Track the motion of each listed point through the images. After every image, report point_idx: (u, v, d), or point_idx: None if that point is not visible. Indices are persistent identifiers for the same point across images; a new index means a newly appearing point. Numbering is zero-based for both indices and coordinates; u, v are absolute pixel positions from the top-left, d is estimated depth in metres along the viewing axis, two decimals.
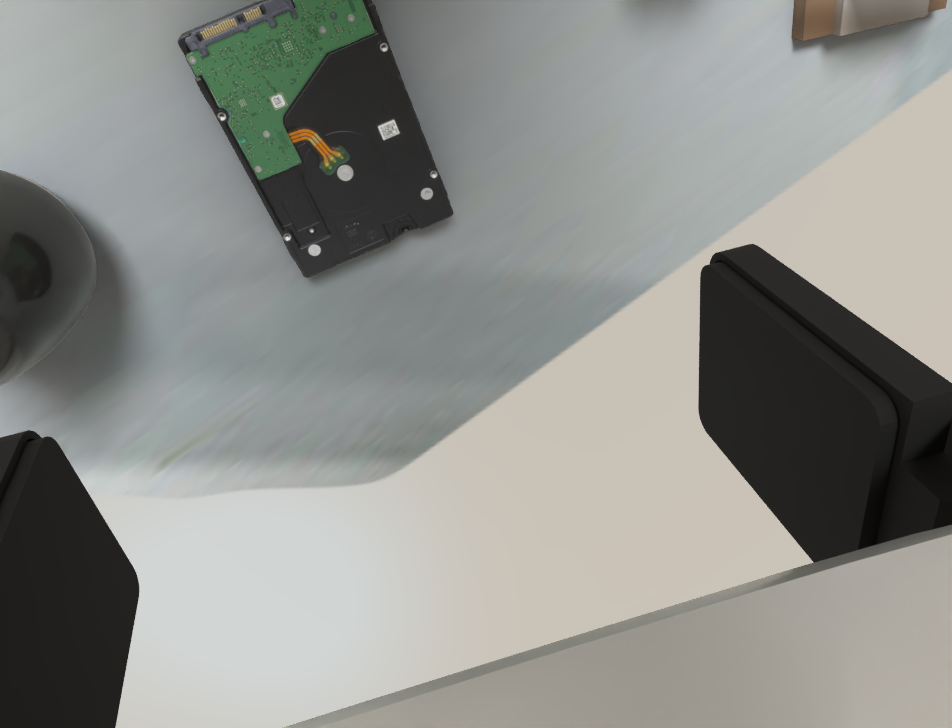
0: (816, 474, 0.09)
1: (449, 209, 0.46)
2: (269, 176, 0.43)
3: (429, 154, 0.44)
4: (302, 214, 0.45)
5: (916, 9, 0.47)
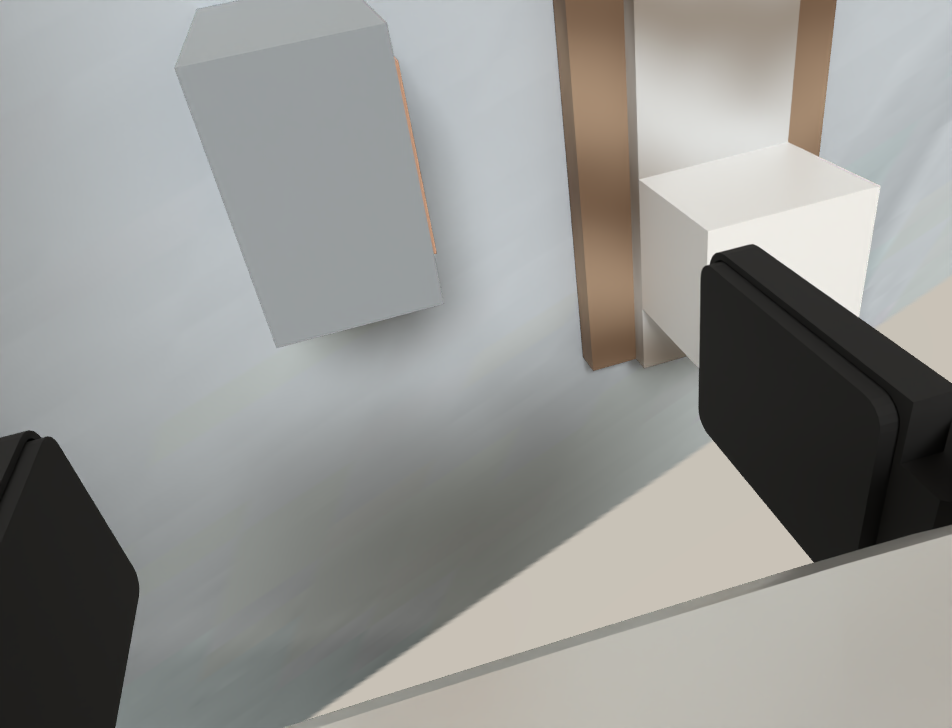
0: (817, 474, 0.09)
1: None
2: None
3: None
4: None
5: None
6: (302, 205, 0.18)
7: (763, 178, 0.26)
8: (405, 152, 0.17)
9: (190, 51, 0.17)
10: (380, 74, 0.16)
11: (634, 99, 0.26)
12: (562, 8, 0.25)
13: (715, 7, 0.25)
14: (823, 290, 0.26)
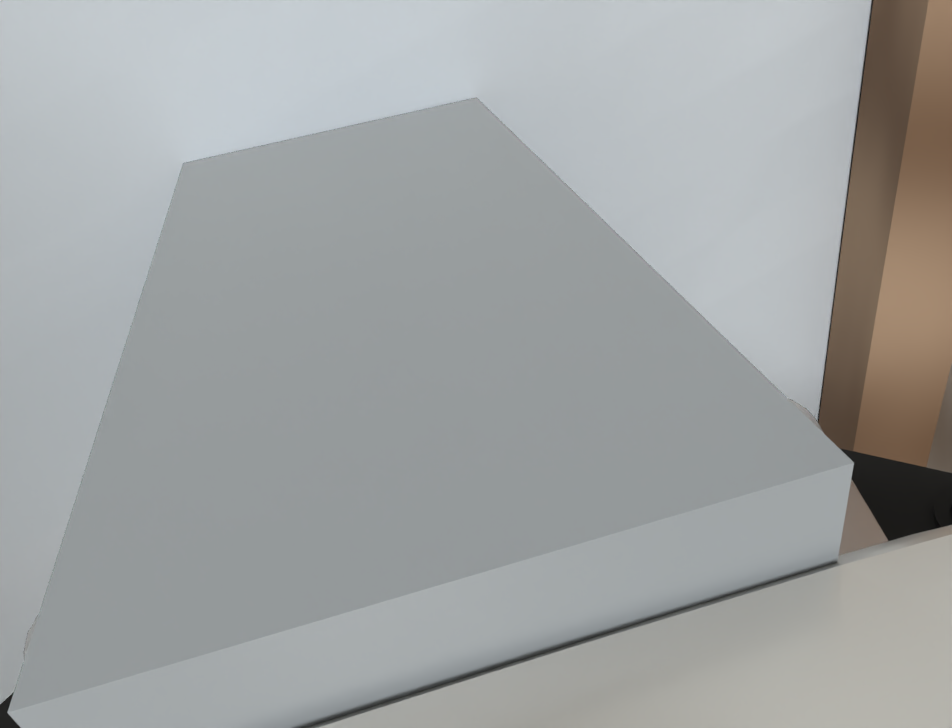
0: None
1: None
2: None
3: None
4: None
5: None
6: None
7: None
8: None
9: (112, 487, 0.05)
10: None
11: None
12: (889, 141, 0.13)
13: None
14: None
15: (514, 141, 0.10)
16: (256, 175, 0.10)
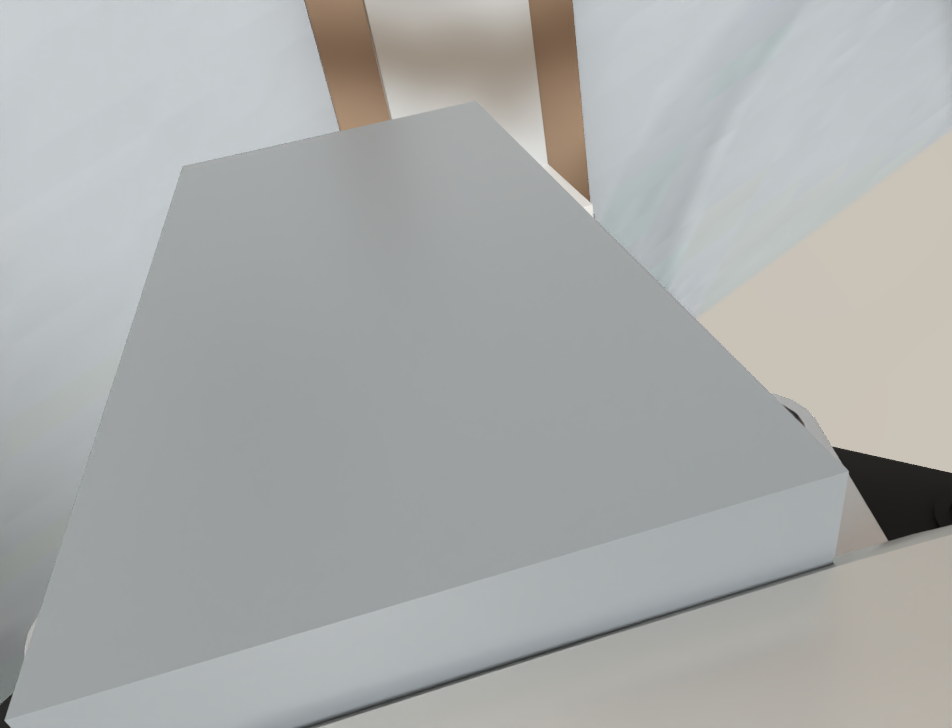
0: None
1: None
2: None
3: None
4: None
5: None
6: None
7: None
8: None
9: (110, 493, 0.05)
10: None
11: None
12: (320, 54, 0.28)
13: (453, 51, 0.28)
14: None
15: (513, 145, 0.10)
16: (255, 179, 0.10)
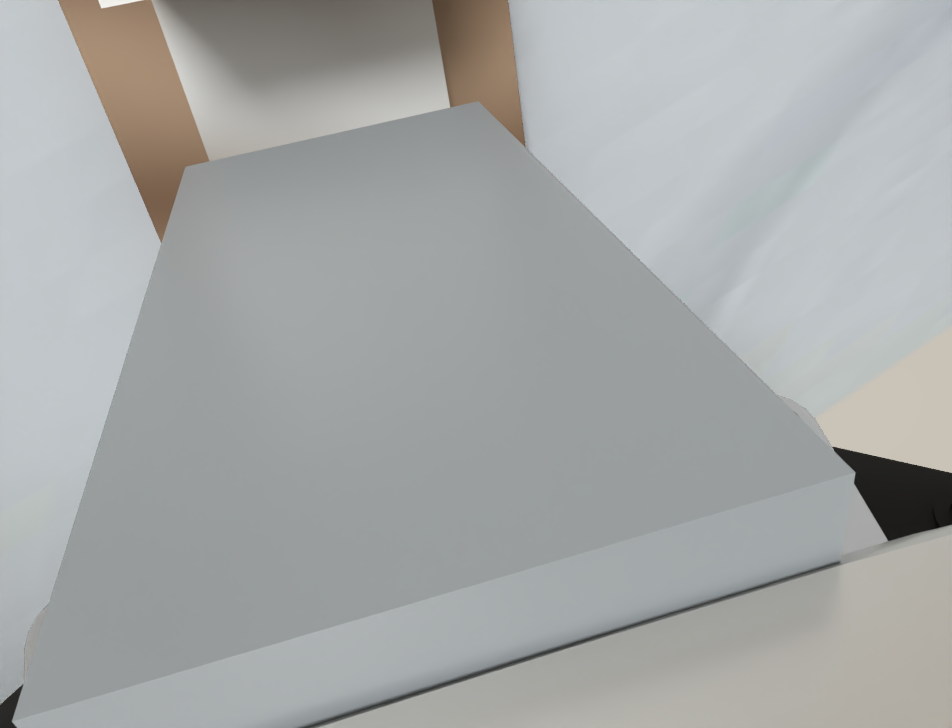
0: None
1: None
2: None
3: None
4: None
5: None
6: None
7: None
8: None
9: (116, 494, 0.05)
10: None
11: None
12: None
13: None
14: None
15: (516, 145, 0.10)
16: (258, 179, 0.10)
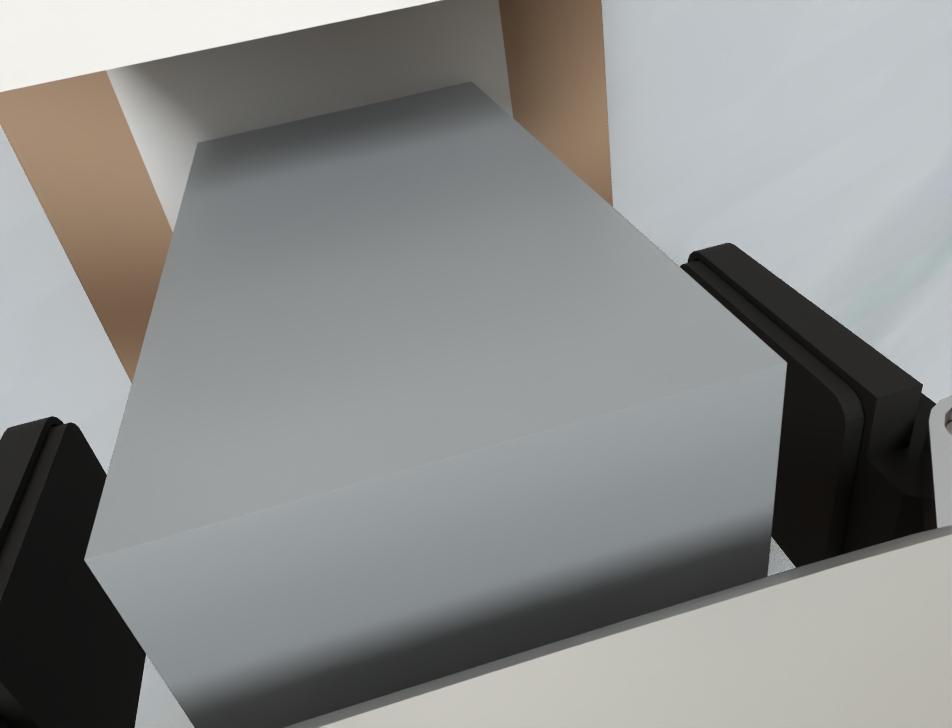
0: (788, 470, 0.09)
1: None
2: None
3: None
4: None
5: None
6: None
7: None
8: None
9: (156, 400, 0.06)
10: (729, 489, 0.05)
11: None
12: None
13: None
14: None
15: (506, 118, 0.10)
16: (267, 152, 0.11)
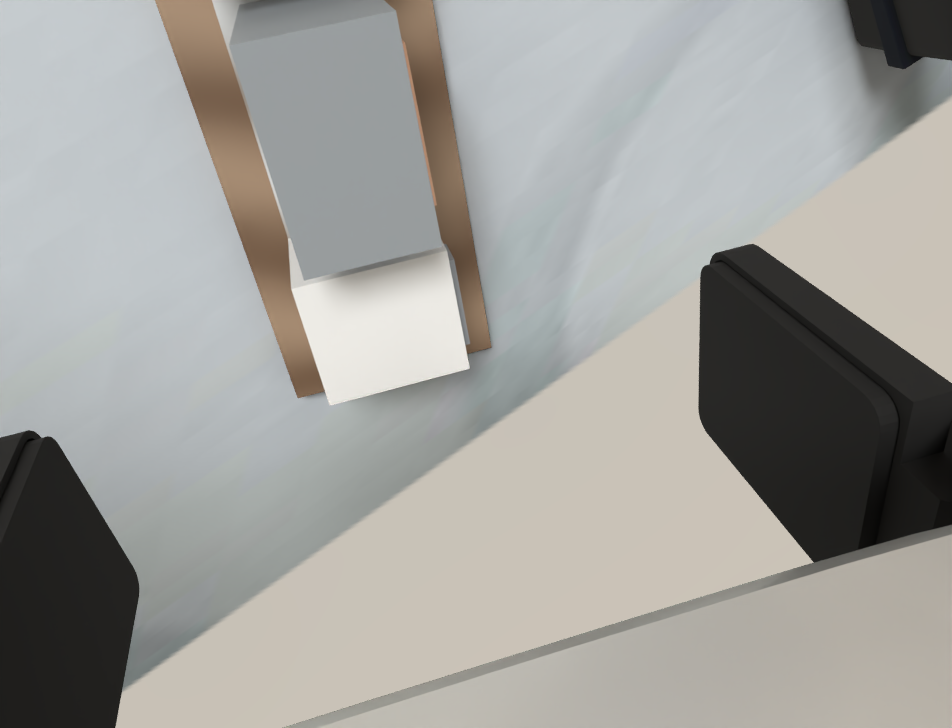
0: (816, 474, 0.09)
1: None
2: None
3: None
4: None
5: None
6: (327, 159, 0.22)
7: None
8: (410, 116, 0.22)
9: (239, 34, 0.21)
10: (390, 52, 0.21)
11: (268, 173, 0.31)
12: None
13: None
14: (423, 336, 0.30)
15: None
16: (269, 3, 0.26)
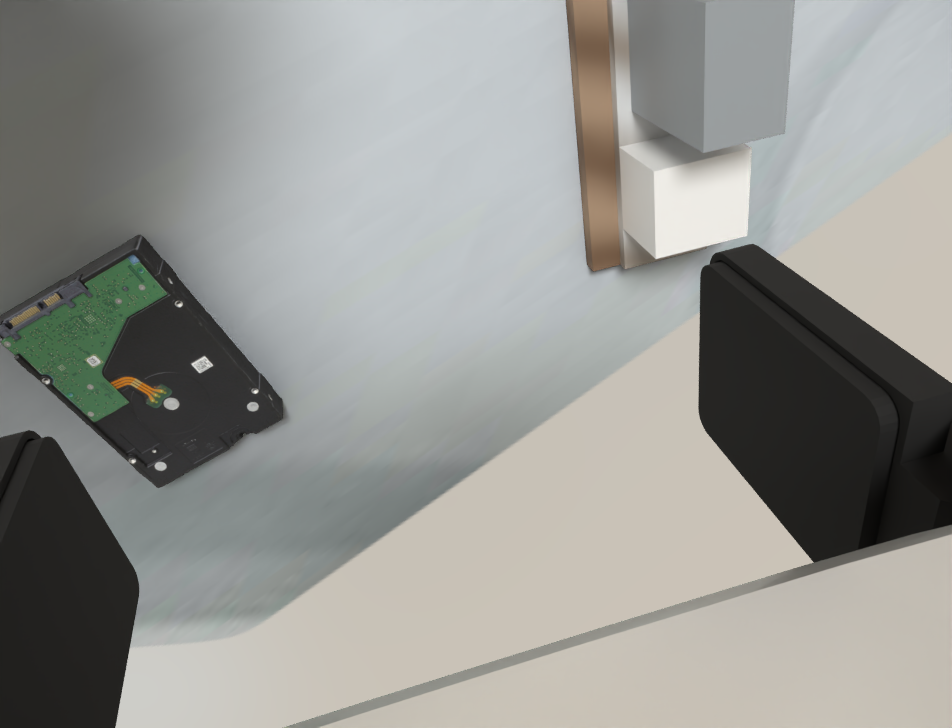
0: (816, 474, 0.09)
1: (277, 415, 0.50)
2: (103, 417, 0.48)
3: (246, 377, 0.48)
4: (142, 439, 0.49)
5: None
6: (737, 74, 0.36)
7: (689, 145, 0.45)
8: (788, 47, 0.36)
9: None
10: (787, 8, 0.35)
11: (615, 100, 0.45)
12: (574, 48, 0.44)
13: None
14: (723, 209, 0.45)
15: None
16: None
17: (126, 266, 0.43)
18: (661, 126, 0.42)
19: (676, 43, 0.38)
